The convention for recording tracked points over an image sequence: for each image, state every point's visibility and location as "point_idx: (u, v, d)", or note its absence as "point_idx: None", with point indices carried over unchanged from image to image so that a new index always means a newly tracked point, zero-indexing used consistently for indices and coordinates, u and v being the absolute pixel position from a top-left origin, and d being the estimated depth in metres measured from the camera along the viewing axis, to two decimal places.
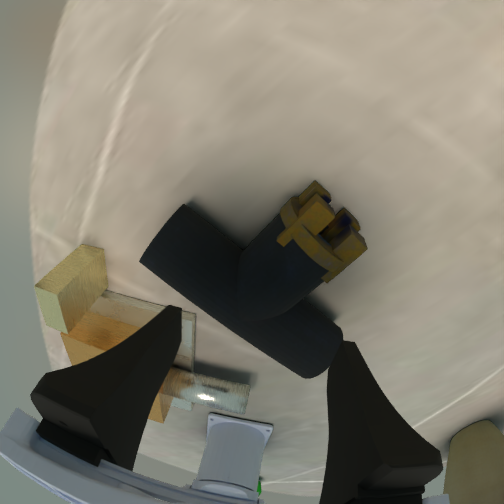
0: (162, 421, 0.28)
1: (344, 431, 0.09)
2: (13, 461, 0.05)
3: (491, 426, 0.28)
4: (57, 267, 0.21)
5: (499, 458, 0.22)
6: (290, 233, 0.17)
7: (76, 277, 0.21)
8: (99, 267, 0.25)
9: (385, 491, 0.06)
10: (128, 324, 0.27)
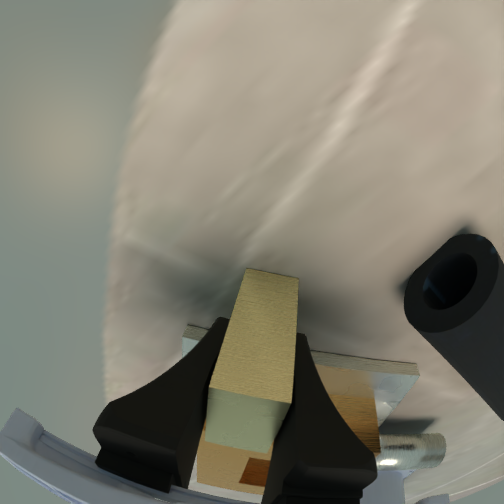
0: None
1: (283, 424, 0.10)
2: (13, 461, 0.05)
3: None
4: (235, 326, 0.11)
5: None
6: None
7: (294, 346, 0.11)
8: None
9: (314, 491, 0.07)
10: None
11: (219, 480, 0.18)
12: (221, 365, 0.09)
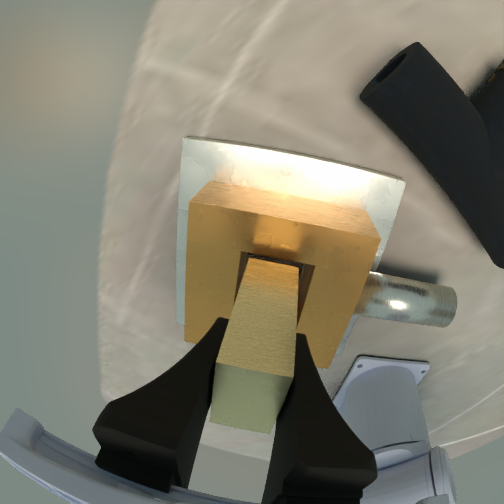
0: (328, 364, 0.20)
1: (283, 424, 0.10)
2: (13, 461, 0.05)
3: None
4: (239, 308, 0.12)
5: None
6: None
7: (295, 327, 0.12)
8: None
9: (314, 491, 0.07)
10: (300, 197, 0.19)
11: (209, 327, 0.19)
12: (227, 342, 0.10)
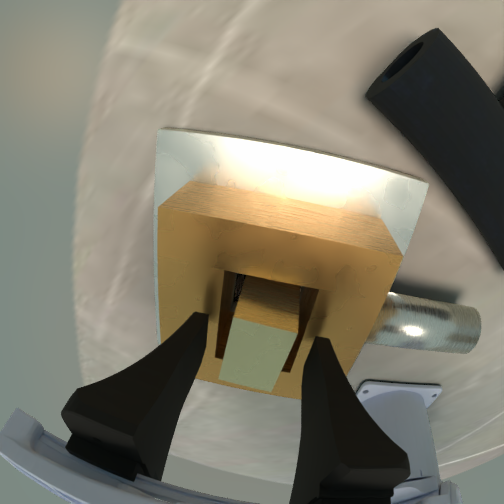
0: None
1: (313, 428, 0.10)
2: (13, 461, 0.05)
3: None
4: (251, 277, 0.14)
5: None
6: None
7: (298, 296, 0.14)
8: None
9: (349, 492, 0.07)
10: (300, 201, 0.15)
11: None
12: (242, 303, 0.12)
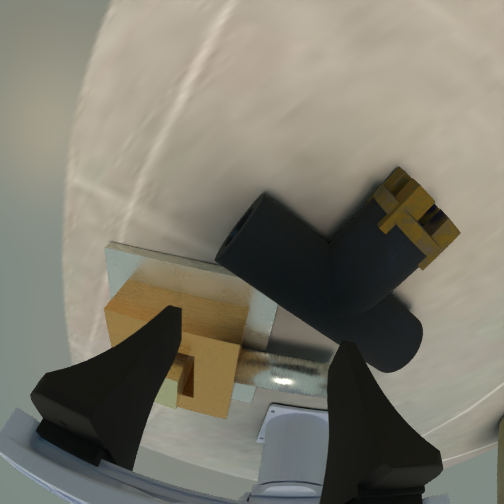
0: (226, 416, 0.24)
1: (344, 431, 0.09)
2: (13, 461, 0.05)
3: None
4: None
5: None
6: (393, 219, 0.15)
7: (188, 356, 0.22)
8: None
9: (385, 491, 0.06)
10: (193, 295, 0.23)
11: None
12: None
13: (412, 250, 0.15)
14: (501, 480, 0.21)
